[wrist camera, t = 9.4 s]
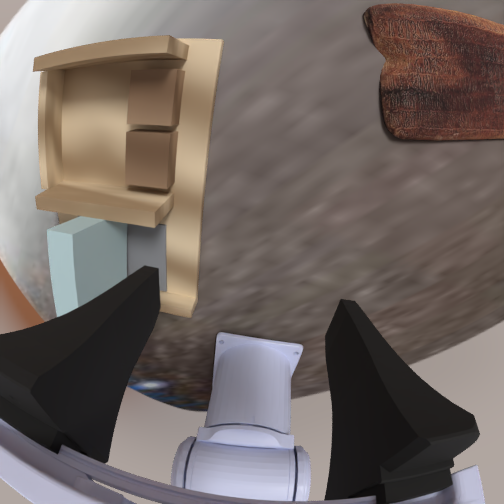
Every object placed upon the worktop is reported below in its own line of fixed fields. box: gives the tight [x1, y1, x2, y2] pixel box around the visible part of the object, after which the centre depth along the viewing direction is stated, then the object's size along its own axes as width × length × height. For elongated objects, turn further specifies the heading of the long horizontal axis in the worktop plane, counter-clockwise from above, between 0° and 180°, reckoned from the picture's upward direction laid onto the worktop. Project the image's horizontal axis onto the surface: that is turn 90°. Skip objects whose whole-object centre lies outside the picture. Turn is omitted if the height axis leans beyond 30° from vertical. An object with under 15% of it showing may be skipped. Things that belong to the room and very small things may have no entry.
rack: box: [33, 35, 224, 318], centre depth 17 cm, size 20×13×4 cm, turn 172°
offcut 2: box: [125, 129, 178, 189], centre depth 17 cm, size 4×3×2 cm
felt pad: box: [78, 216, 167, 292], centre depth 22 cm, size 6×8×1 cm
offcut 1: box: [127, 69, 185, 126], centre depth 15 cm, size 4×3×2 cm
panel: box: [47, 216, 128, 317], centre depth 18 cm, size 8×2×7 cm, turn 172°
